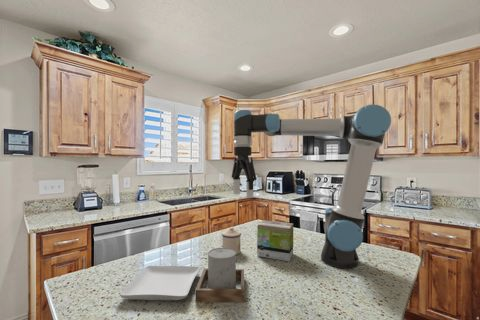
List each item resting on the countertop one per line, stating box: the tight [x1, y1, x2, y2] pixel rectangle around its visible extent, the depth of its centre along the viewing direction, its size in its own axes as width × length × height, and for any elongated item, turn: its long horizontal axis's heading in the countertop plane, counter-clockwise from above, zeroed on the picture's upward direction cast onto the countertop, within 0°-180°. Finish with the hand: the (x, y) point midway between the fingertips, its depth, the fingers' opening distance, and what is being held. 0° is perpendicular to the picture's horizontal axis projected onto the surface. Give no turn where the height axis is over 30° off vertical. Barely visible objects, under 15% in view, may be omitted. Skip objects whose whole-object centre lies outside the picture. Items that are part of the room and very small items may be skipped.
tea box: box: [256, 219, 294, 262], centre depth 111 cm, size 15×10×15 cm, turn 68°
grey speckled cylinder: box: [207, 247, 237, 289], centre depth 81 cm, size 10×10×12 cm
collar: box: [195, 268, 245, 303], centre depth 81 cm, size 15×15×4 cm
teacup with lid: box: [221, 227, 242, 256], centre depth 116 cm, size 12×9×12 cm
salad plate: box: [119, 265, 201, 301], centre depth 82 cm, size 21×21×3 cm
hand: (242, 195), depth 103 cm, fingers open, 13 cm apart
